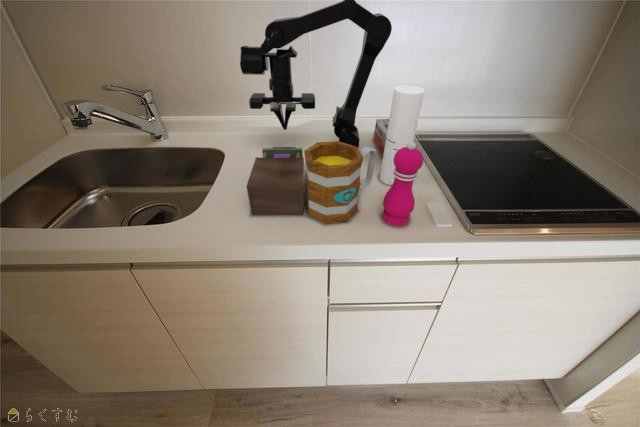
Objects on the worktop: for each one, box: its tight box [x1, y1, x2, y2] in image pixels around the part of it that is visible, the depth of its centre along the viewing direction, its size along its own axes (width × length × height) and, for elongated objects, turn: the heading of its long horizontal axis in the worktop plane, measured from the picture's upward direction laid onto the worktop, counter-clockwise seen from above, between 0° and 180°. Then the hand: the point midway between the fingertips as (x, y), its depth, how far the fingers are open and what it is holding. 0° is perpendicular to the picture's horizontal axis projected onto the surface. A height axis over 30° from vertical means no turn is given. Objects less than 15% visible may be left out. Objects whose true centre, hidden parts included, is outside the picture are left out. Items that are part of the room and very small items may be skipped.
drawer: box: [261, 146, 304, 158], centre depth 81 cm, size 17×11×7 cm, turn 1°
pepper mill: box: [382, 141, 424, 227], centre depth 64 cm, size 7×7×20 cm
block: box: [274, 154, 291, 158], centre depth 82 cm, size 5×5×5 cm
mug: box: [303, 140, 377, 225], centre depth 70 cm, size 20×14×15 cm
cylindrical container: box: [379, 84, 426, 186], centre depth 76 cm, size 7×7×25 cm
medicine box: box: [373, 118, 389, 157], centre depth 96 cm, size 15×8×8 cm, turn 6°
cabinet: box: [246, 157, 305, 216], centre depth 73 cm, size 14×13×9 cm
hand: (285, 129), depth 89 cm, fingers closed
